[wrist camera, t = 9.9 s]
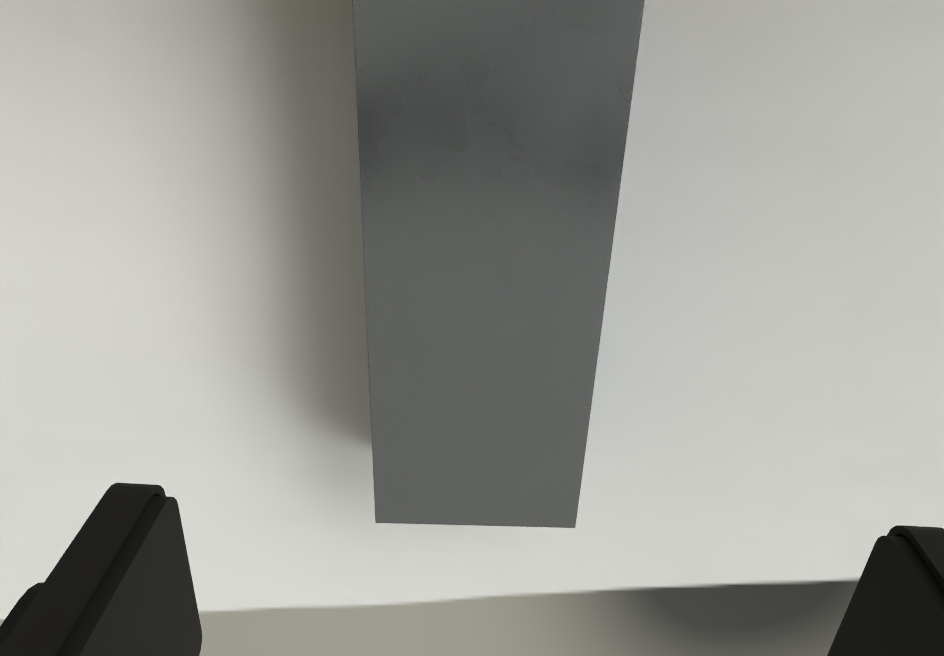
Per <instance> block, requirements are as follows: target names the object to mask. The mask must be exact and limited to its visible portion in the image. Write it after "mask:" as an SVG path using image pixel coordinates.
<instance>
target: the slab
mask: <svg viewBox="0 0 944 656" xmlns="http://www.w3.org/2000/svg"><path fill="white" fill-rule="evenodd" d="M643 7H644V0H353V19H354V41H355V64H356V87H357V110H358V132H359V155H360V178H361V201H362V224H363V246H364V269H365V292H366V315H367V338H368V360H369V383H370V406H371V429H372V452H373V474H374V497H375V520H376V523H407V524H446V525H485V526H525V527H564V528H575V525H576V517H577V509H578V502H579V494H580V487H581V479H582V471H583V464H584V456H585V449H586V441H587V433H588V426H589V418H590V411H591V403H592V395H593V388H594V380H595V372H596V365H597V357H598V350H599V342H600V334H601V327H602V319H603V312H604V304H605V296H606V289H607V281H608V273H609V266H610V258H611V251H612V243H613V235H614V228H615V220H616V213H617V205H618V197H619V190H620V182H621V174H622V167H623V159H624V152H625V144H626V136H627V129H628V121H629V114H630V106H631V98H632V91H633V83H634V75H635V68H636V60H637V53H638V45H639V37H640V30H641V22H642V15H643Z"/></svg>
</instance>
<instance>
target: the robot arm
mask: <svg viewBox="0 0 944 656" xmlns="http://www.w3.org/2000/svg"><path fill="white" fill-rule="evenodd" d="M201 643H202V631H201V625H200V620H199V614H198V609H197V604H196V598H195V593H194V588H193V582H192V577H191V572H190V566H189V561H188V556H187V550H186V545H185V540H184V534H183V529H182V524H181V518H180V513H179V508H178V503H177V500H176V499H175V498H174V497H166V495H165V492H164V489H163V488H162V487H161V486H159V485H147V484H129V483H115V484H113V485H111V487H110V488H109V489H108V490H107V491H106V493H105V494H104V496H103V497H102V498H101V500H100V501H99V503H98V504H97V506H96V507H95V509H94V510H93V512H92V513H91V515H90V516H89V518H88V519H87V521H86V522H85V523H84V525H83V526H82V528H81V529H80V531H79V532H78V534H77V535H76V537H75V538H74V540H73V541H72V543H71V544H70V546H69V547H68V548H67V550H66V551H65V553H64V554H63V556H62V557H61V559H60V560H59V562H58V563H57V565H56V566H55V568H54V569H53V570H52V572H51V573H50V575H49V576H48V578H47V579H46V581H45V582H44V583H37V584H36V585H34V586H32V587H31V588H29V589H28V590H27V591H26V592H25V593H24V595H23V596H22V597H21V598H20V599H19V600H18V602H17V603H16V605H15V606H14V608H13V609H12V610H11V612H10V613H9V615H8V616H7V618H6V619H5V620H4V622H3V623H2V625H1V626H0V656H199V654H200V650H201ZM827 656H944V529H943V528H936V527H918V526H895V527H893V528H892V529H891V530H890V531H889V533H888V534H887V536H881V537H879V538H878V539H877V541H876V543H875V545H874V547H873V550H872V552H871V554H870V557H869V559H868V561H867V564H866V566H865V568H864V571H863V573H862V575H861V578H860V580H859V582H858V585H857V587H856V589H855V592H854V594H853V597H852V599H851V601H850V604H849V606H848V608H847V611H846V613H845V615H844V618H843V620H842V622H841V625H840V627H839V629H838V632H837V634H836V636H835V639H834V641H833V644H832V646H831V648H830V651H829V653H828V655H827Z"/></svg>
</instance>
